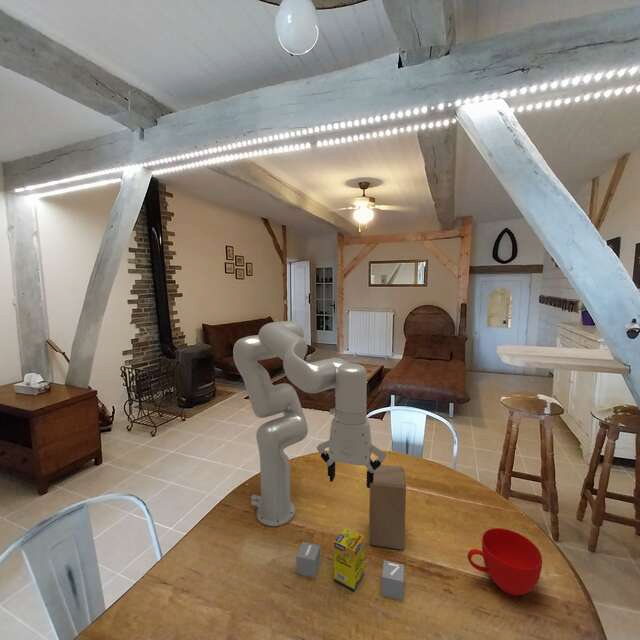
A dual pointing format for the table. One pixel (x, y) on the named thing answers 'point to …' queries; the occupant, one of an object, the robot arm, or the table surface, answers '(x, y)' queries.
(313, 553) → the slate block
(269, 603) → the table surface
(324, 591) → the table surface
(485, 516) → the table surface
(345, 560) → the supplement box
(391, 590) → the slate block
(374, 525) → the block
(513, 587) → the ceramic cup
